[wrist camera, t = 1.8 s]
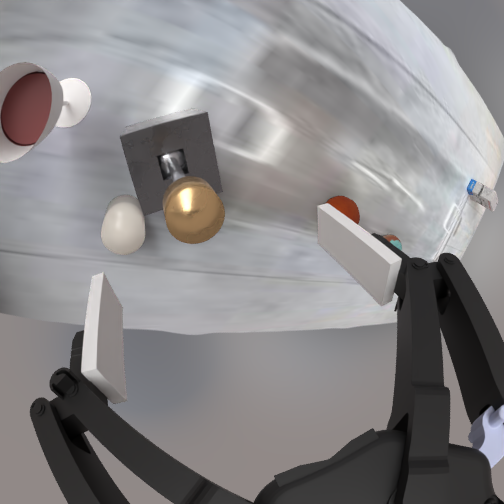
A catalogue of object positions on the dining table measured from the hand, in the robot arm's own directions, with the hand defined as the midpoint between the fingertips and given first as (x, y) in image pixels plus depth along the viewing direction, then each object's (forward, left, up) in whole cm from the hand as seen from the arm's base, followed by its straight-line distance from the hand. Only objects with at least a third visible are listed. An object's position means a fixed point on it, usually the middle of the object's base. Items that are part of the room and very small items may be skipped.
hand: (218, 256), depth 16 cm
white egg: (-10, -9, -34) cm, 37 cm away
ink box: (+99, -29, -34) cm, 108 cm away
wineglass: (-14, +13, -34) cm, 39 cm away
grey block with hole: (0, 0, -34) cm, 34 cm away
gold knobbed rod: (0, 0, -24) cm, 24 cm away
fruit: (+31, -21, -34) cm, 51 cm away
